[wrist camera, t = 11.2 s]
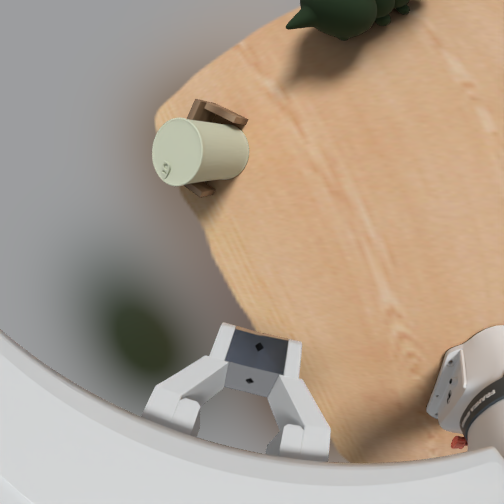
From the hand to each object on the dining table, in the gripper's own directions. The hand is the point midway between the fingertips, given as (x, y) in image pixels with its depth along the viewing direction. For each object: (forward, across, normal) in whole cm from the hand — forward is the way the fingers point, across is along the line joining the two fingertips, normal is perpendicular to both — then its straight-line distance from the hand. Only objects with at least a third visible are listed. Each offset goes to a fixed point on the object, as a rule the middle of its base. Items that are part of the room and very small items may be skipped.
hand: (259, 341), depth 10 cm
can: (+36, +12, +3) cm, 38 cm away
